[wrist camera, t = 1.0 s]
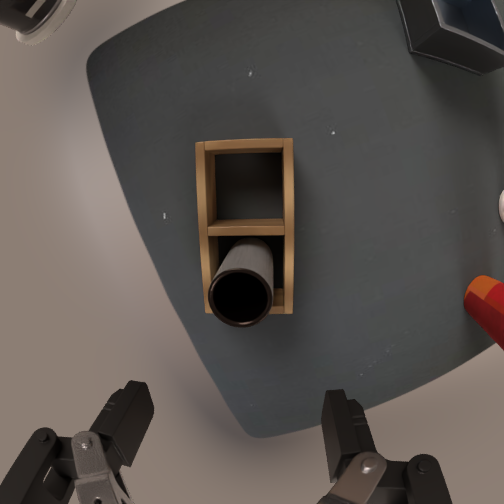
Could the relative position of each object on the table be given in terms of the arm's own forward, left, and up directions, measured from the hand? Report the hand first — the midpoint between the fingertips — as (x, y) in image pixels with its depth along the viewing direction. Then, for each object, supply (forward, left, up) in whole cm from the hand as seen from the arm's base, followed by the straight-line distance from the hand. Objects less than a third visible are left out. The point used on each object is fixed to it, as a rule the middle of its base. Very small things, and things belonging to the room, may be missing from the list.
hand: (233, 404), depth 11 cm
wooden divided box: (-5, -1, -19) cm, 20 cm away
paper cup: (+4, +29, -19) cm, 35 cm away
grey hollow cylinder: (-1, -1, -19) cm, 19 cm away
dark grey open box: (-30, +23, -19) cm, 43 cm away
